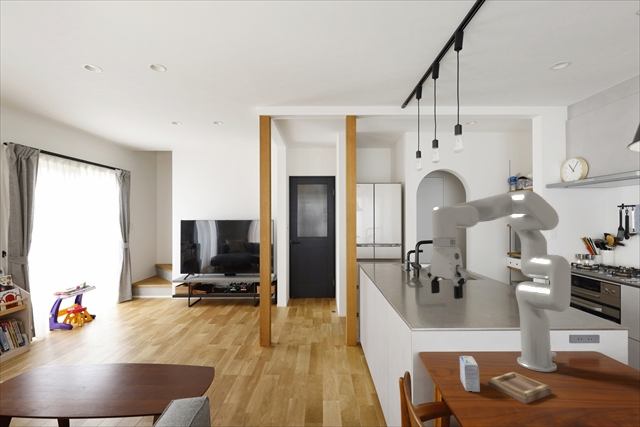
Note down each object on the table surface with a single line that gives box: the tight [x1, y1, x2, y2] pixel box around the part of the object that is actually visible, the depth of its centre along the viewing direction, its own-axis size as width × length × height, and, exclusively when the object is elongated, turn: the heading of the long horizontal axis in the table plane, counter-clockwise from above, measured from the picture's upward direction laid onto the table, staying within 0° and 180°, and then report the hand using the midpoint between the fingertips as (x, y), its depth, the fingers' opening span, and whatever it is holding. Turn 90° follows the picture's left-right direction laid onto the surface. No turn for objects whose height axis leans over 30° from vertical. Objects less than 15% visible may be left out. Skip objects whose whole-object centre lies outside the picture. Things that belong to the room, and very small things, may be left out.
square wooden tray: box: [487, 371, 552, 404], centre depth 107 cm, size 13×12×2 cm
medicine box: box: [459, 355, 481, 393], centre depth 110 cm, size 8×4×9 cm, turn 168°
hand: (446, 295), depth 107 cm, fingers open, 9 cm apart
